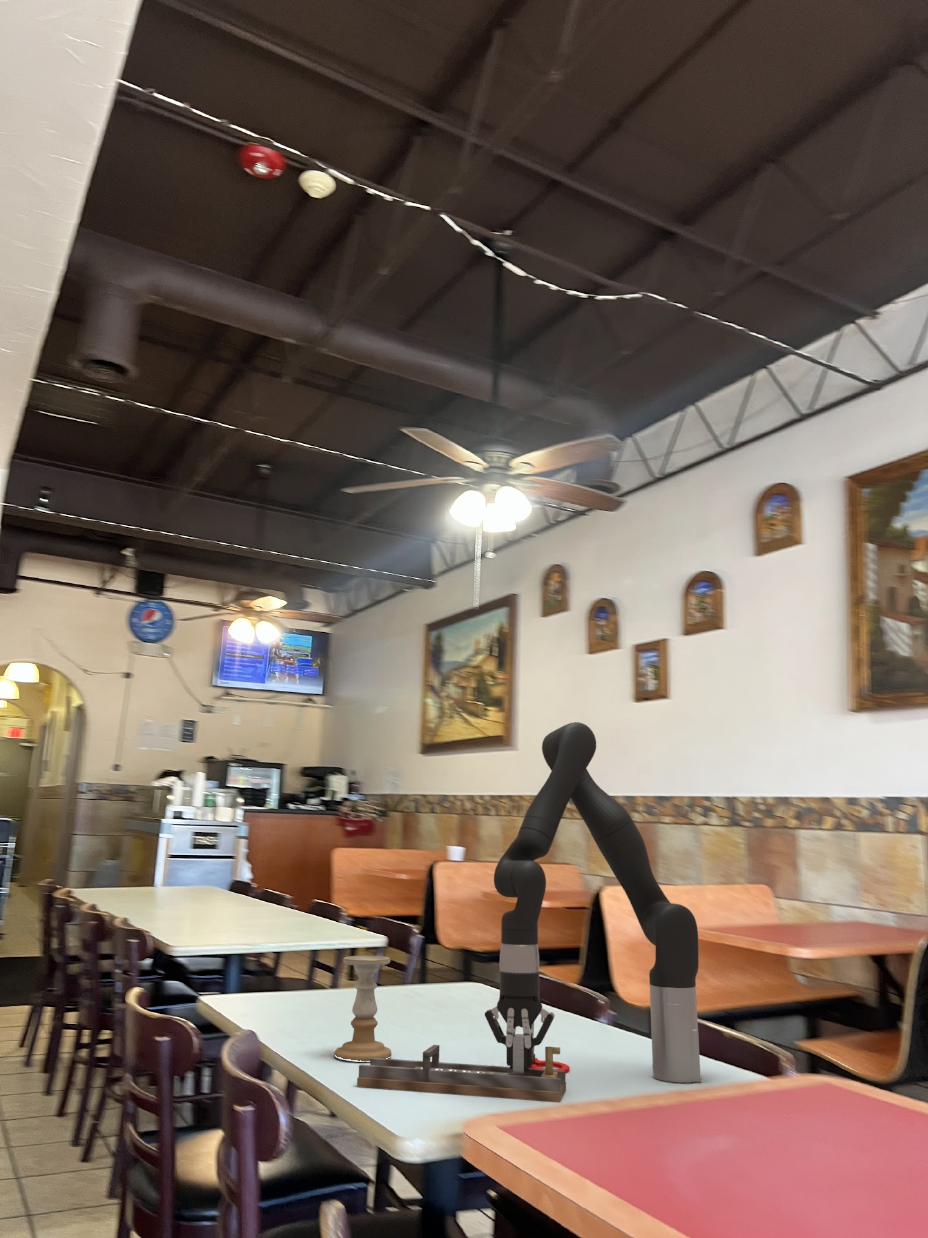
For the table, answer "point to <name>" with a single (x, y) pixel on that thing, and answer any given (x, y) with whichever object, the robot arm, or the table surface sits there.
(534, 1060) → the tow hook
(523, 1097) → the track
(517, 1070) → the grey l-shaped slider bar
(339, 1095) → the table surface
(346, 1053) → the candle holder
